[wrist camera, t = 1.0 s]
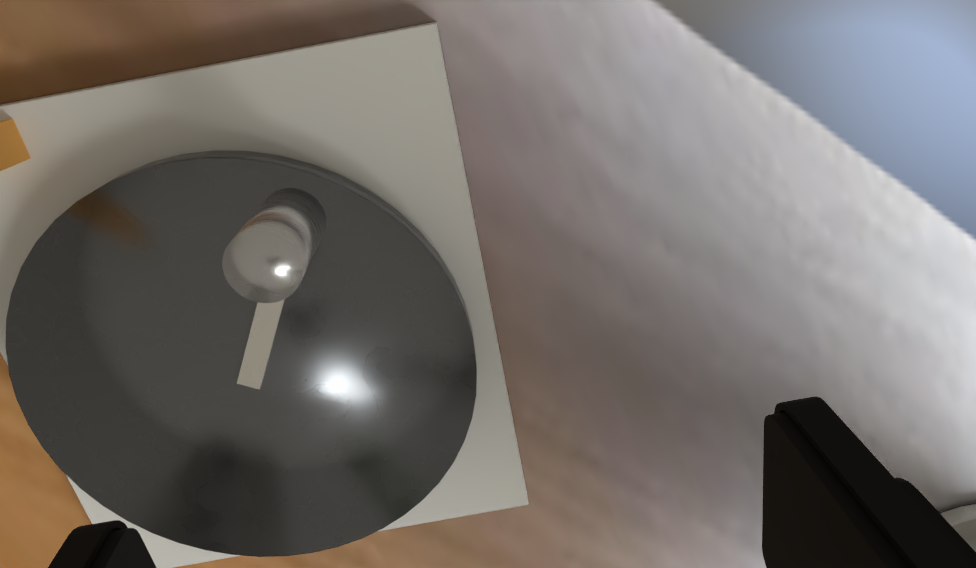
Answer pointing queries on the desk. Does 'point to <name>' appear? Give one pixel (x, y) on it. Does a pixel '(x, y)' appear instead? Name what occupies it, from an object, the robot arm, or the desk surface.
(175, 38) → the desk surface
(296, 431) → the dial
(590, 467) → the desk surface
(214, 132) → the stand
